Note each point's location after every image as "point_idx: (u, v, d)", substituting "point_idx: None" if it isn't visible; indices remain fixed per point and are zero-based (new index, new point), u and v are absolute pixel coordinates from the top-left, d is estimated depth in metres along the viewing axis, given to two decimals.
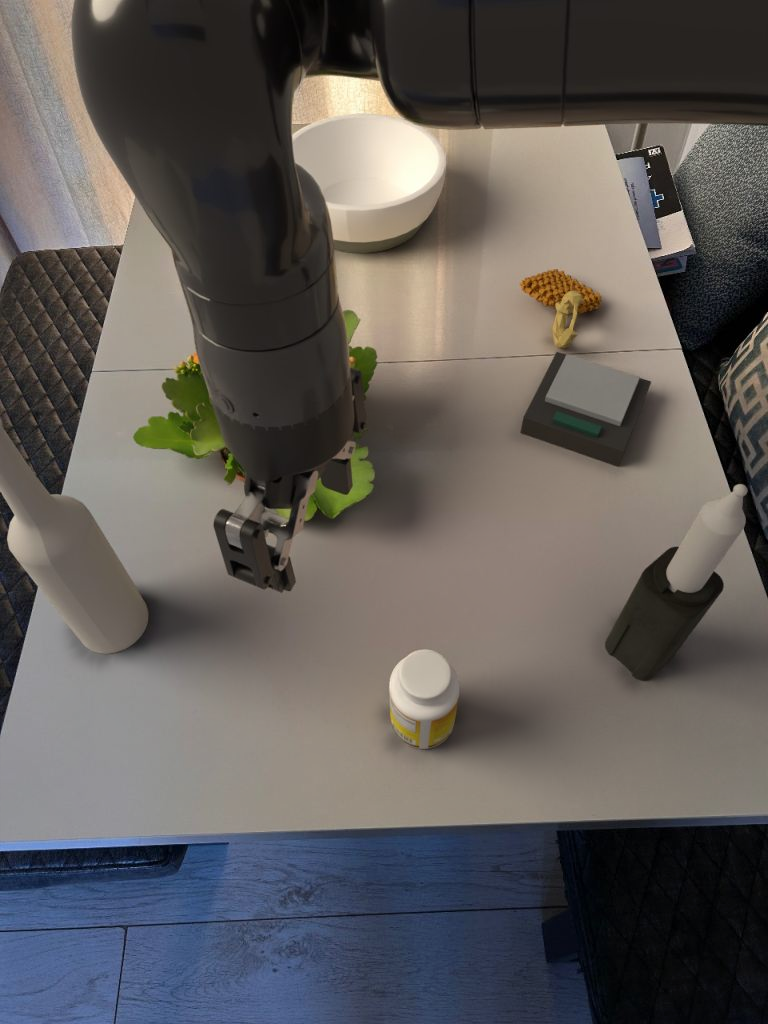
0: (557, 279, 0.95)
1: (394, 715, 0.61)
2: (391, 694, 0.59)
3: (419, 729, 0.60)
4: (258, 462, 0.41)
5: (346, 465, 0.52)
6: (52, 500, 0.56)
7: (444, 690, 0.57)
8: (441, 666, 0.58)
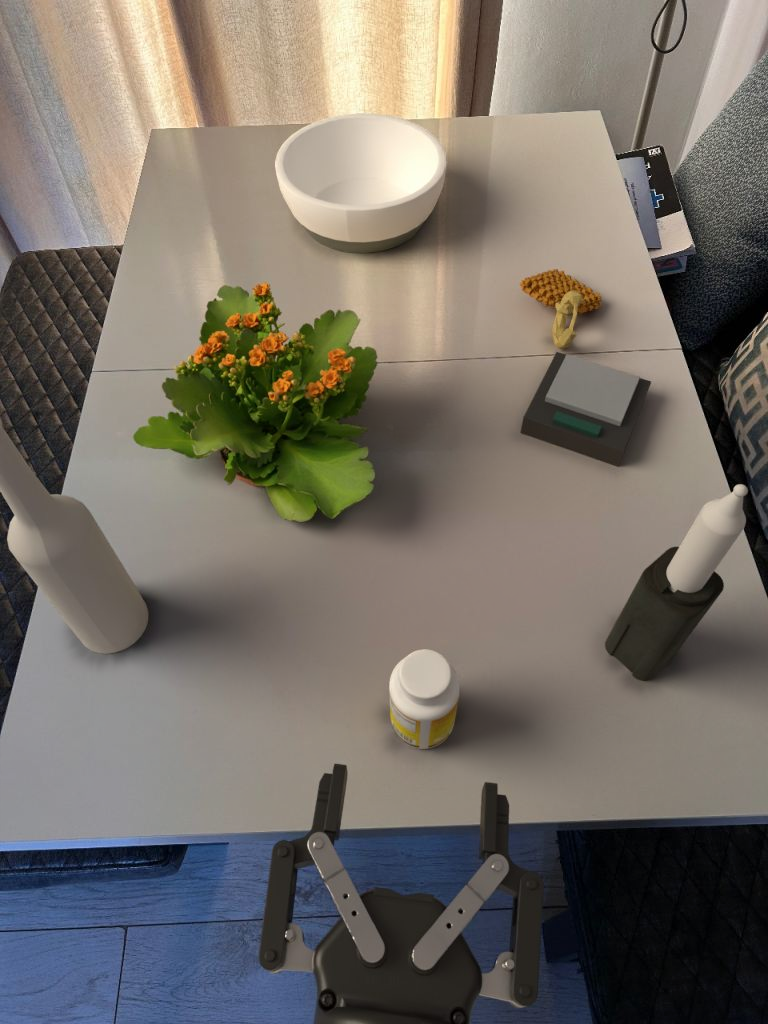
0: (557, 279, 0.95)
1: (394, 715, 0.61)
2: (391, 694, 0.59)
3: (419, 729, 0.60)
4: None
5: (334, 828, 0.41)
6: (52, 500, 0.56)
7: (444, 690, 0.57)
8: (441, 666, 0.58)
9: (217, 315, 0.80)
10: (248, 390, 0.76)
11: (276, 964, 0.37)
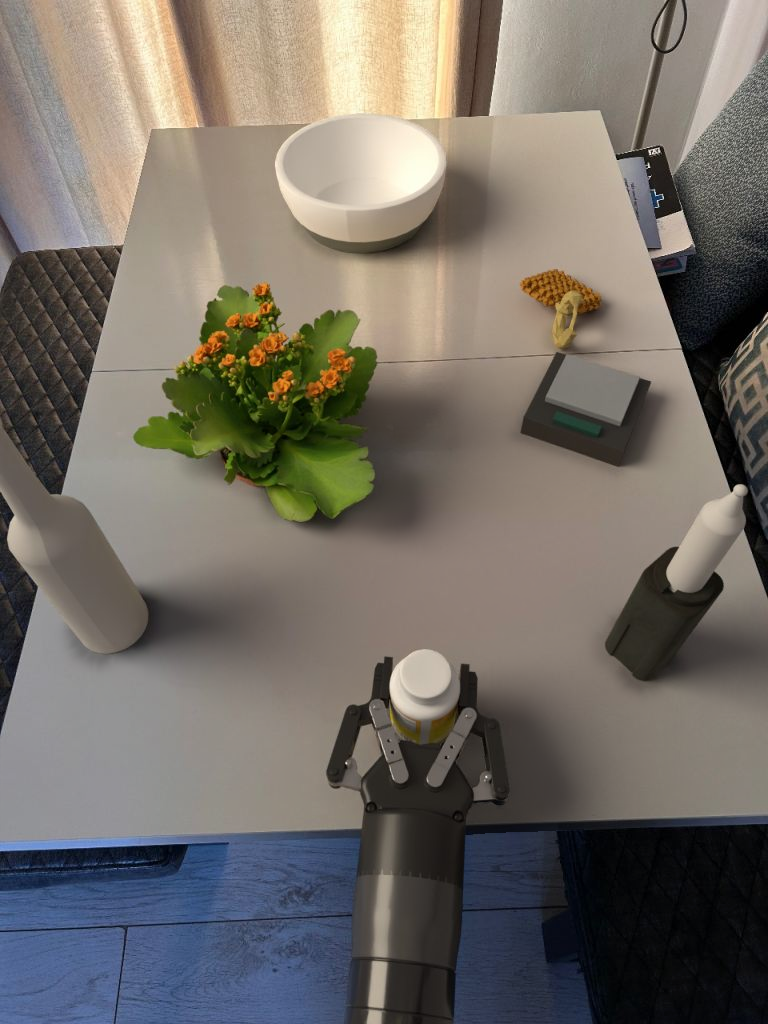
0: (557, 279, 0.95)
1: (394, 715, 0.61)
2: (391, 694, 0.59)
3: (419, 729, 0.60)
4: None
5: (387, 696, 0.60)
6: (52, 500, 0.56)
7: (444, 690, 0.57)
8: (441, 666, 0.58)
9: (217, 315, 0.80)
10: (248, 390, 0.76)
11: (337, 778, 0.56)
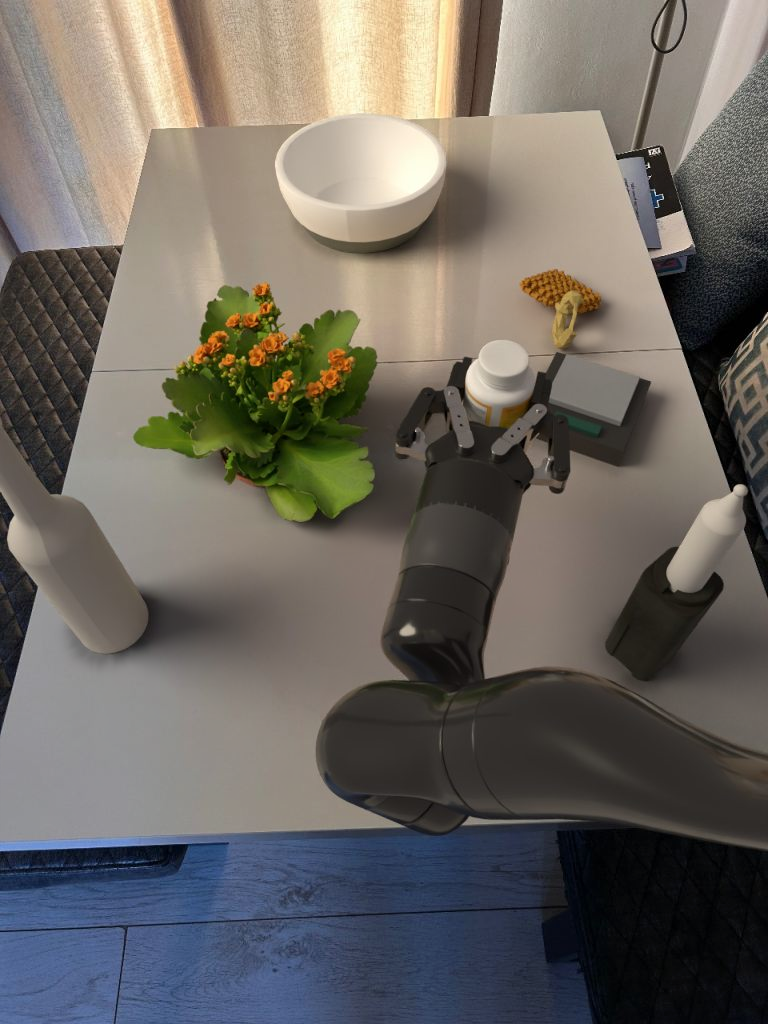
0: (557, 279, 0.95)
1: (466, 411, 0.63)
2: (467, 381, 0.61)
3: (488, 422, 0.62)
4: (519, 508, 0.56)
5: (462, 386, 0.62)
6: (52, 500, 0.56)
7: (520, 373, 0.59)
8: (520, 354, 0.60)
9: (217, 315, 0.80)
10: (248, 390, 0.76)
11: (405, 439, 0.59)
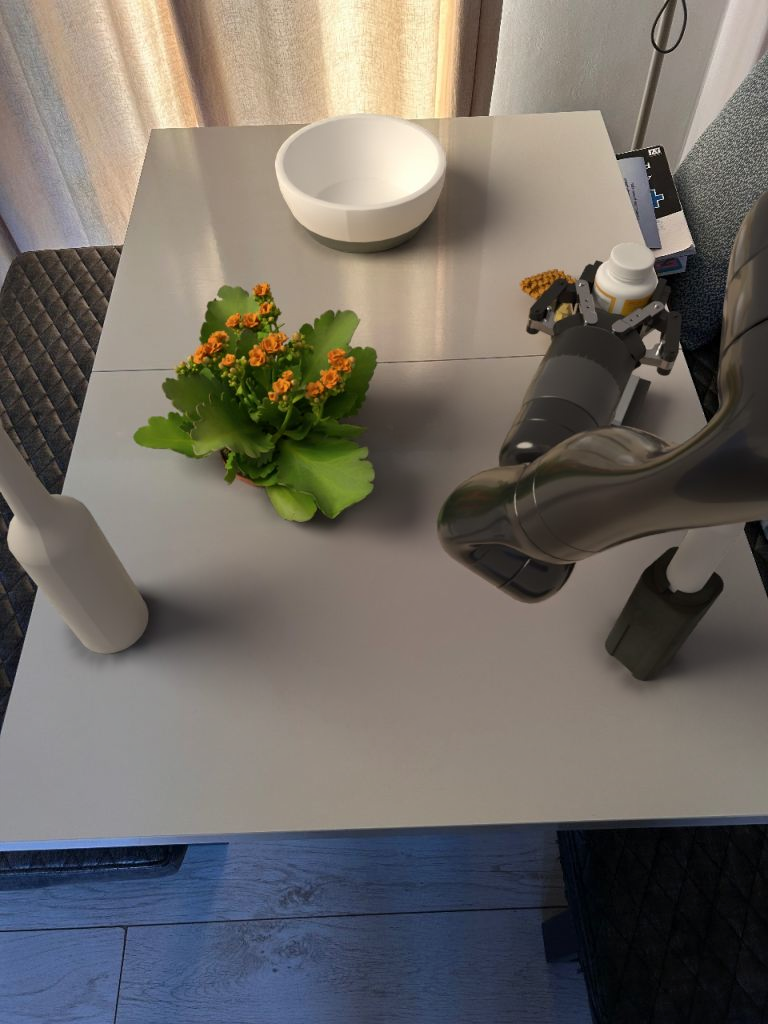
0: None
1: None
2: (597, 275, 0.71)
3: None
4: (629, 376, 0.66)
5: (591, 281, 0.72)
6: (52, 500, 0.56)
7: (646, 268, 0.68)
8: (648, 254, 0.69)
9: (217, 315, 0.80)
10: (248, 390, 0.76)
11: (537, 313, 0.69)
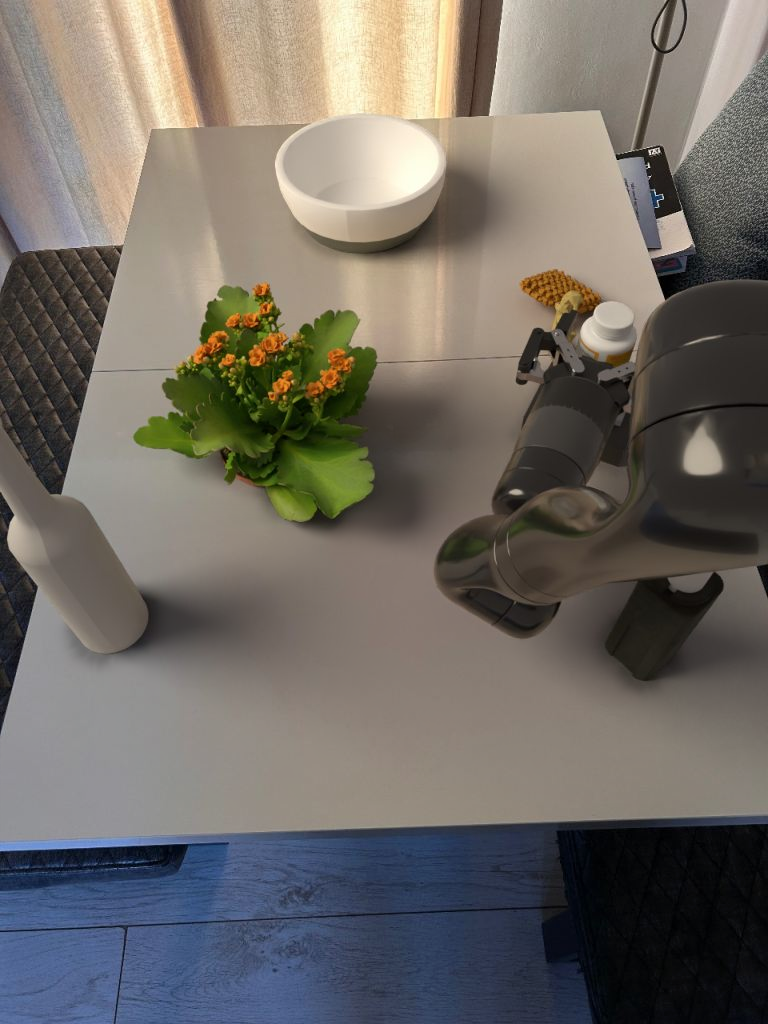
0: (557, 279, 0.95)
1: None
2: (581, 331, 0.77)
3: None
4: None
5: (567, 330, 0.77)
6: (52, 500, 0.56)
7: (626, 327, 0.74)
8: (628, 313, 0.75)
9: (217, 315, 0.80)
10: (248, 390, 0.76)
11: (527, 366, 0.74)
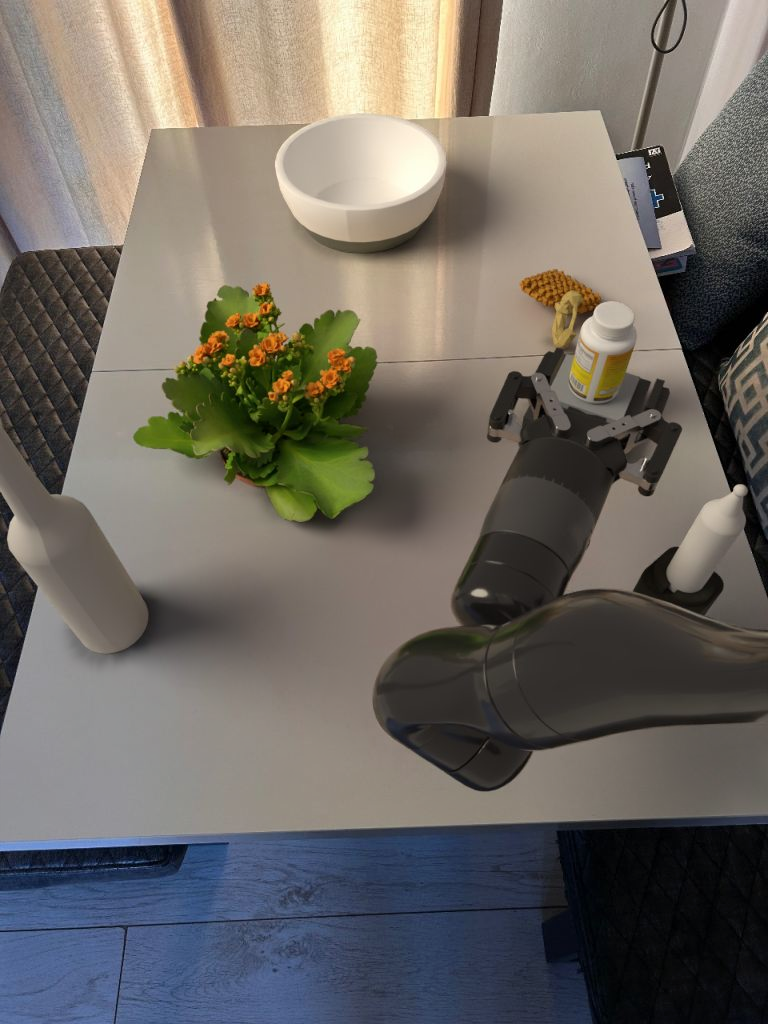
0: (557, 279, 0.95)
1: (577, 357, 0.79)
2: (581, 331, 0.77)
3: (594, 366, 0.77)
4: (607, 495, 0.57)
5: (550, 374, 0.63)
6: (52, 500, 0.56)
7: (626, 327, 0.74)
8: (628, 313, 0.75)
9: (217, 315, 0.80)
10: (248, 390, 0.76)
11: (500, 421, 0.60)
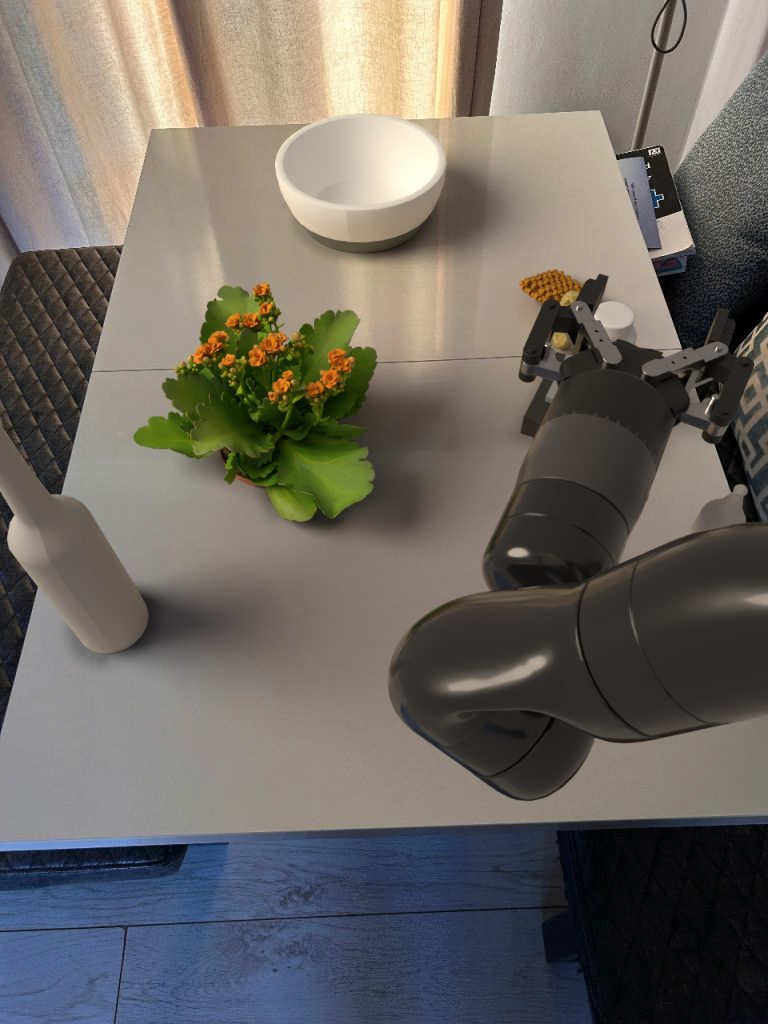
0: (556, 279, 0.95)
1: None
2: None
3: None
4: None
5: (593, 303, 0.53)
6: (52, 500, 0.56)
7: (626, 327, 0.74)
8: (628, 313, 0.75)
9: (217, 315, 0.80)
10: (248, 390, 0.76)
11: (535, 355, 0.50)
